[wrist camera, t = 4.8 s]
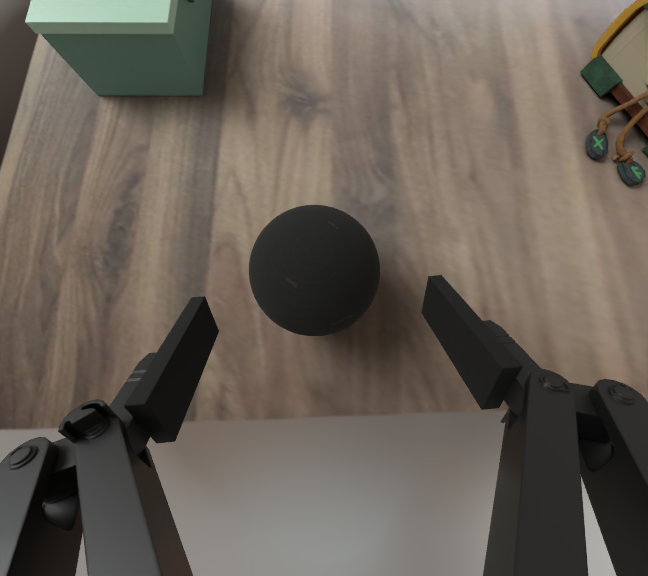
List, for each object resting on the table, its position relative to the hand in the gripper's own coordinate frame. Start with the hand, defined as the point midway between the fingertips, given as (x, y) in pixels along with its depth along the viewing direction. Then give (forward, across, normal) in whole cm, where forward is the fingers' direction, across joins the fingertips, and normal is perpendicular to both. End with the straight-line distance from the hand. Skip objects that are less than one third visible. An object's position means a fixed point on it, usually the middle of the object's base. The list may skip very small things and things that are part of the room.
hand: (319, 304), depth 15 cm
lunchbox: (+31, -17, +18) cm, 40 cm away
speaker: (+9, 0, -4) cm, 10 cm away
